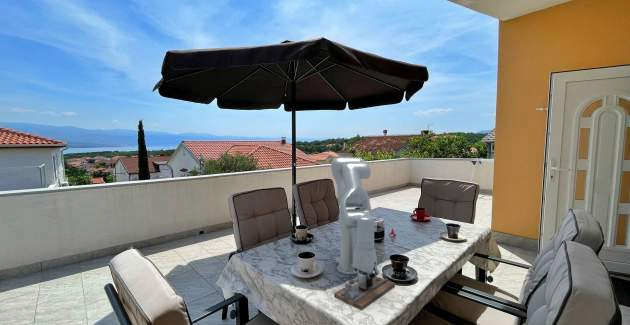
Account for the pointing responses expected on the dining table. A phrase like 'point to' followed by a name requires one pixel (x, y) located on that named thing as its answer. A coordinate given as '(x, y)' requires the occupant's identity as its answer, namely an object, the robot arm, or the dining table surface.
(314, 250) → the dining table surface
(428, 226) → the dining table surface
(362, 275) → the grey sliding block
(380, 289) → the bolt plate
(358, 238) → the robot arm
